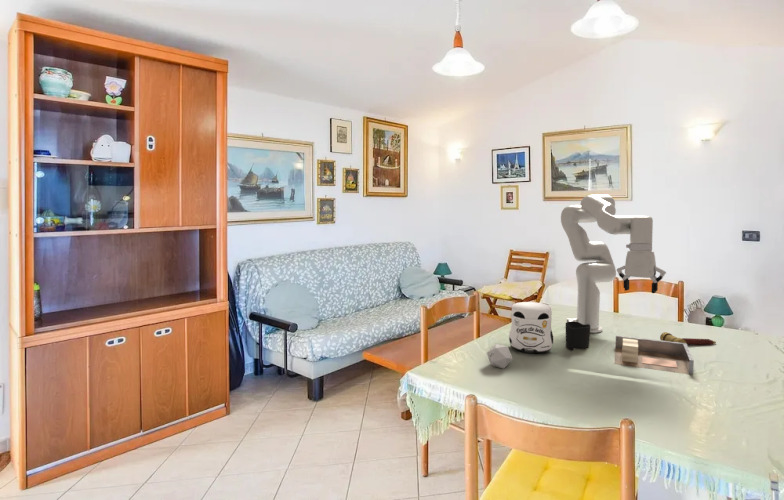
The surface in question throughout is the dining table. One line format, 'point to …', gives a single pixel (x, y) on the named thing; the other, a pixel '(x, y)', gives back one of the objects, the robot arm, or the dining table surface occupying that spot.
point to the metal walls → (661, 349)
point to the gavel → (685, 340)
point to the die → (499, 356)
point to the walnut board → (654, 361)
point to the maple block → (630, 350)
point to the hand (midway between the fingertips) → (640, 291)
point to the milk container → (531, 327)
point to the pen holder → (577, 335)
